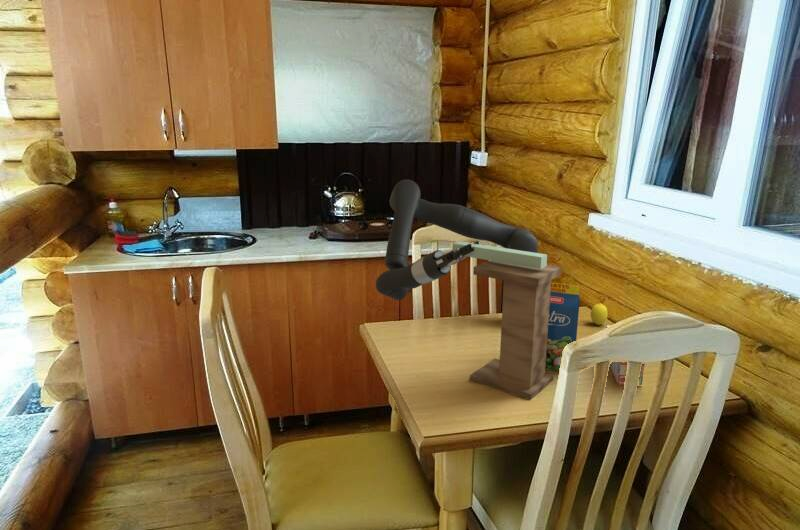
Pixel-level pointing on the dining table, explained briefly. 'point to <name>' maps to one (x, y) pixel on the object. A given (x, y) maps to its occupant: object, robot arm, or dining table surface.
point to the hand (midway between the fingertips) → (476, 245)
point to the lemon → (599, 314)
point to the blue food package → (561, 322)
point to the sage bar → (505, 255)
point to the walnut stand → (520, 329)
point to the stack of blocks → (623, 371)
